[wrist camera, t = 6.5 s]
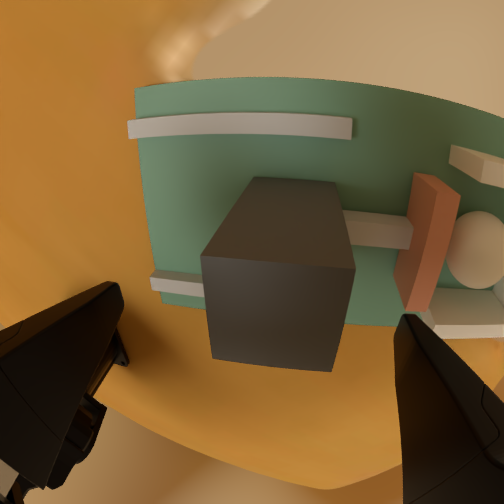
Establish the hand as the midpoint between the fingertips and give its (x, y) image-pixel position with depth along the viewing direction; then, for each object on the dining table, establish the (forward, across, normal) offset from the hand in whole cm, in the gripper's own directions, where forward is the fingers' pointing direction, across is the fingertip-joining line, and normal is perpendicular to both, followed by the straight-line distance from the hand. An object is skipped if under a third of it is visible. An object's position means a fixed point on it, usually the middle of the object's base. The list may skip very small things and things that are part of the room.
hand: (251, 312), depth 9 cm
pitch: (+9, -4, 0) cm, 10 cm away
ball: (+6, -11, 0) cm, 12 cm away
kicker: (+8, -3, 0) cm, 8 cm away
